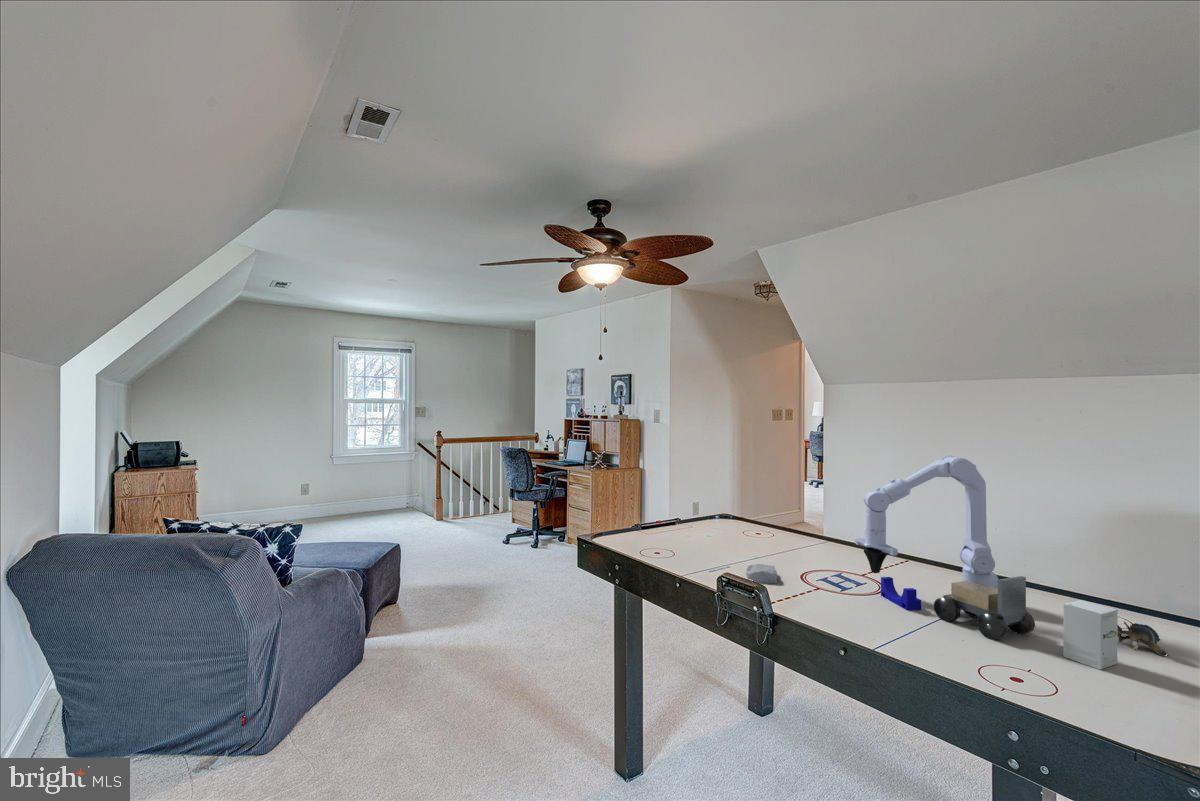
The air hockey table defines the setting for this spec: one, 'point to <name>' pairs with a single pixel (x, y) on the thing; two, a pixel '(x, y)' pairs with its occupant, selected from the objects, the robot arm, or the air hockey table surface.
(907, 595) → the cable clip
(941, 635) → the air hockey table surface
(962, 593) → the trolley
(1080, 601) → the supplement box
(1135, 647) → the brown animal figurine
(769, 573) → the stone block
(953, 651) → the air hockey table surface
